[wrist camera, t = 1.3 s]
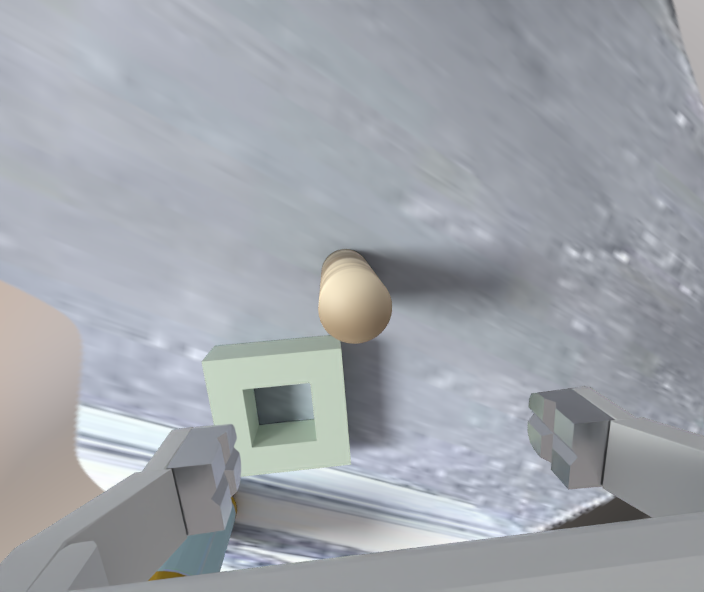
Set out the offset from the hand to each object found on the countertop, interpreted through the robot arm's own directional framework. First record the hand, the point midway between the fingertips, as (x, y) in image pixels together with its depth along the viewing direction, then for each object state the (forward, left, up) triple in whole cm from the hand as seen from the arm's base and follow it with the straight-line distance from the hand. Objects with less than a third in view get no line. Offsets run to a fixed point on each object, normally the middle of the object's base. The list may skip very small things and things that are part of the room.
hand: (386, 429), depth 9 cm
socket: (+12, -7, -24) cm, 27 cm away
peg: (0, 0, -24) cm, 24 cm away
